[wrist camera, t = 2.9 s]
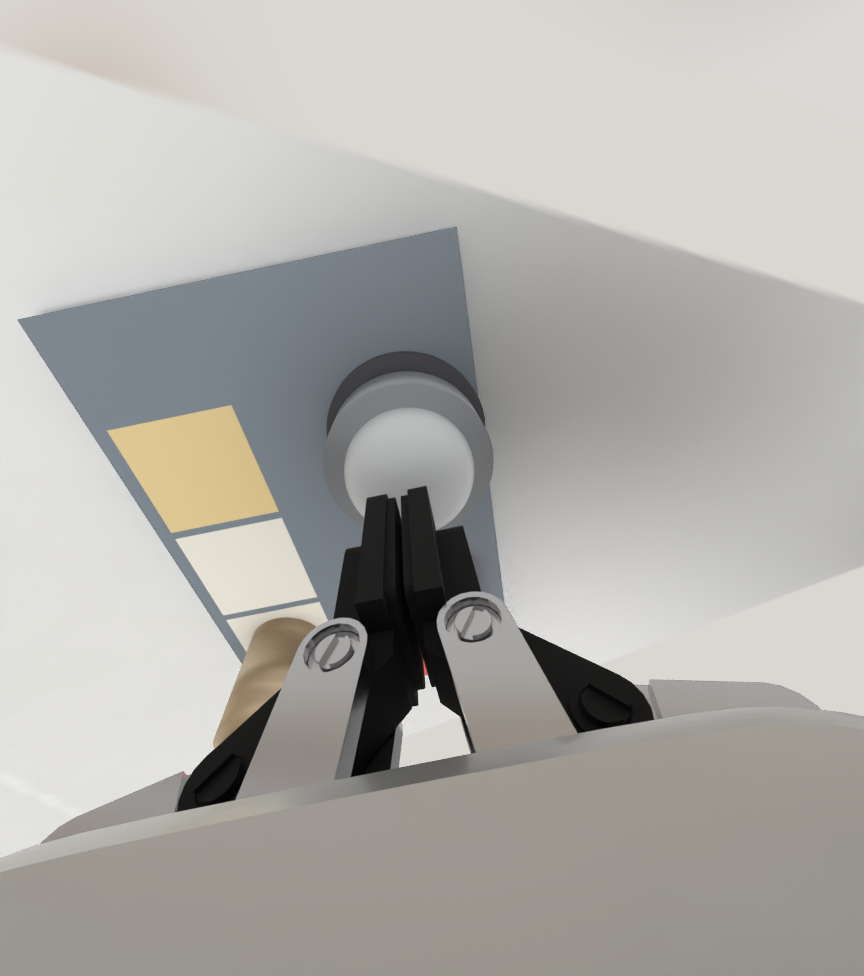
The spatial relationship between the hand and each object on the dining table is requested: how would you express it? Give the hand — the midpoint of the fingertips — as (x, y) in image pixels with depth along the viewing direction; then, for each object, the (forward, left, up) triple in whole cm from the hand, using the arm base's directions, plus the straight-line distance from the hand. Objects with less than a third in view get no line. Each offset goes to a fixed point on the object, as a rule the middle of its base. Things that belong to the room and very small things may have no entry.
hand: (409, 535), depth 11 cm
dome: (0, 0, -6) cm, 6 cm away
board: (+5, +5, -10) cm, 12 cm away
